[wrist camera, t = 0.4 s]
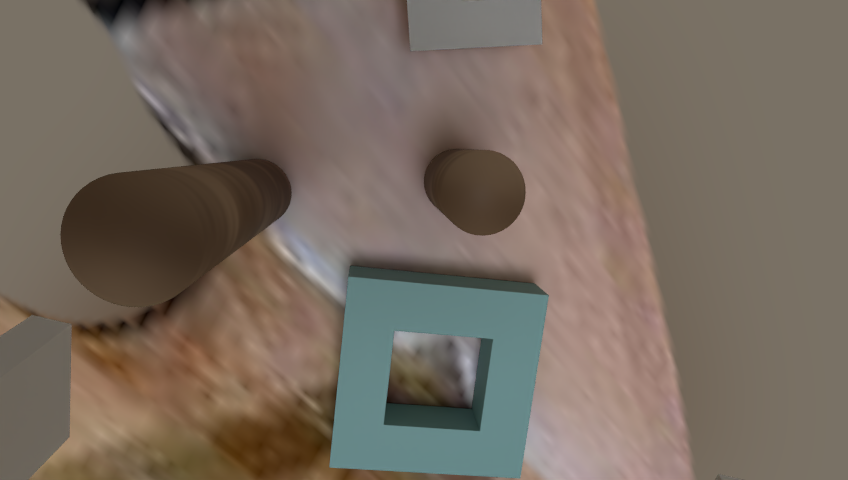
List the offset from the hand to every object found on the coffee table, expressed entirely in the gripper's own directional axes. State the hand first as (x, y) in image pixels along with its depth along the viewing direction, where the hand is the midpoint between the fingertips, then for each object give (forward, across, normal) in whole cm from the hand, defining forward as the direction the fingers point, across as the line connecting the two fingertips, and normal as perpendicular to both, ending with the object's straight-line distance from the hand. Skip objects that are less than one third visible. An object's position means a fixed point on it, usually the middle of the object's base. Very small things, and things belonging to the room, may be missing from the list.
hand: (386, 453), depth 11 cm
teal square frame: (+23, +3, -12) cm, 26 cm away
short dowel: (+25, +2, 0) cm, 25 cm away
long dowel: (+23, -10, -3) cm, 26 cm away
